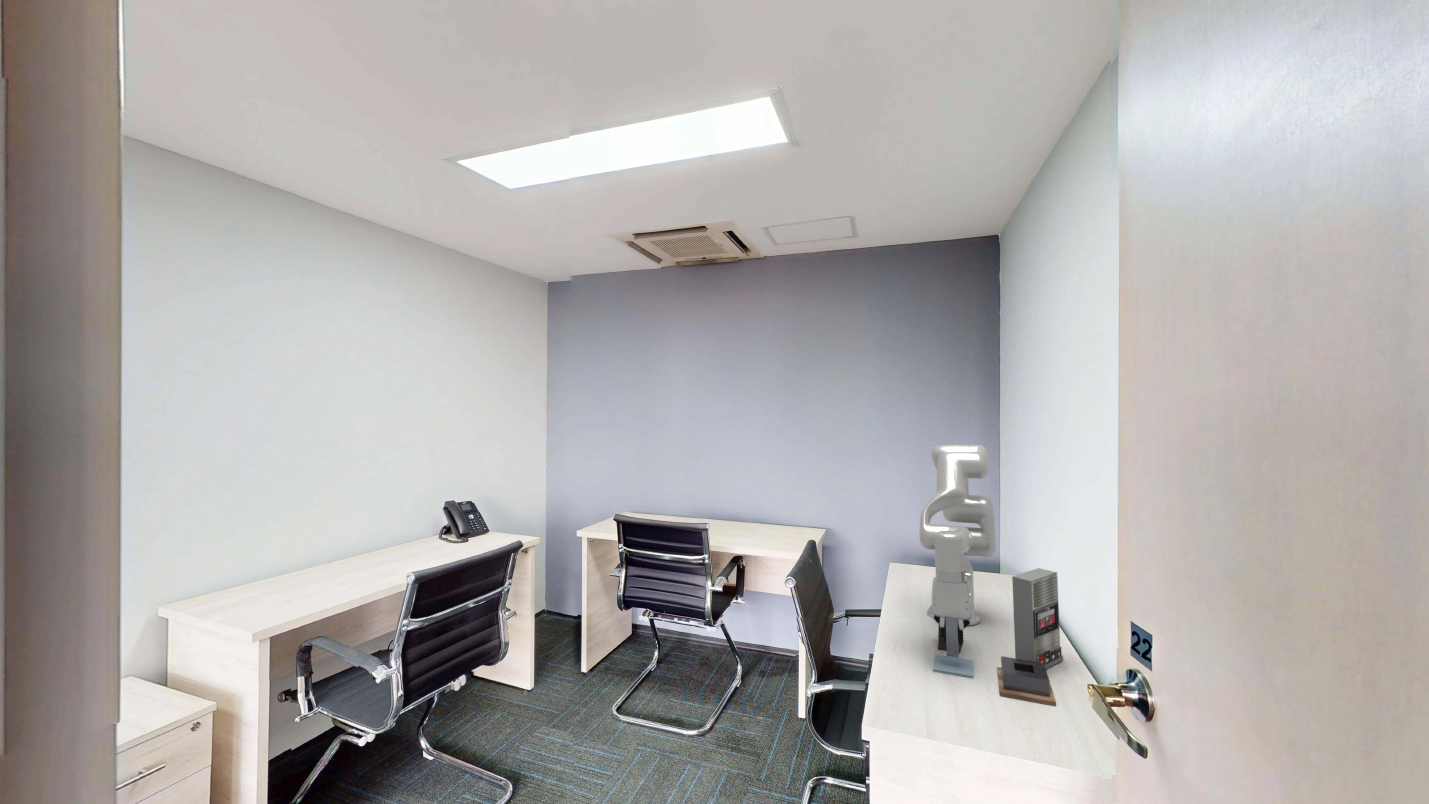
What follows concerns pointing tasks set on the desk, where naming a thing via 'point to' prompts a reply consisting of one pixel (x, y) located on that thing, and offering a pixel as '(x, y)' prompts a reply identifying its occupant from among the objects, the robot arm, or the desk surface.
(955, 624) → the key peg
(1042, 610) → the cassette tape recorder
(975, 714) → the desk surface
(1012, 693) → the stand
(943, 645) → the phone stand
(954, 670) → the mat
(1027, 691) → the block
